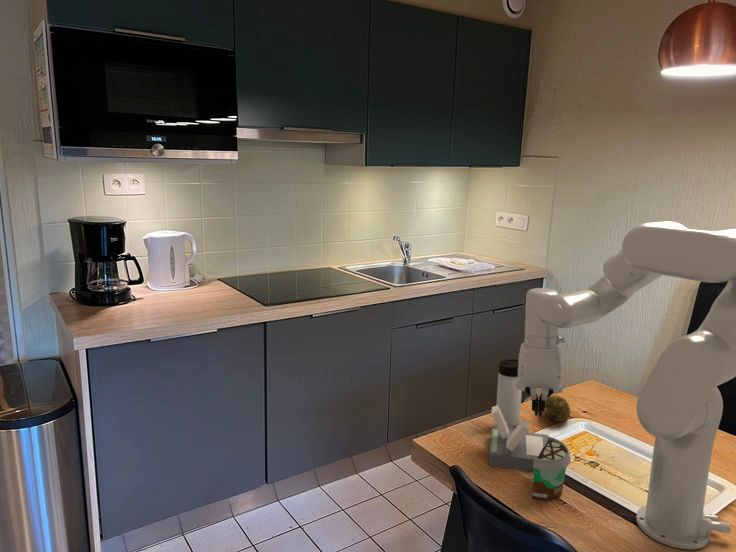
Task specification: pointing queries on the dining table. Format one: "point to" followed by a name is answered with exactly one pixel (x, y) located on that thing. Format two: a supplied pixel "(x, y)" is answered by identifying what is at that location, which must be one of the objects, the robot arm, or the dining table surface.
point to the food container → (550, 470)
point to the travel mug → (509, 393)
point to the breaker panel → (516, 450)
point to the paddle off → (517, 436)
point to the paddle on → (500, 422)
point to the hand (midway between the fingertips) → (538, 413)
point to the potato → (557, 408)
